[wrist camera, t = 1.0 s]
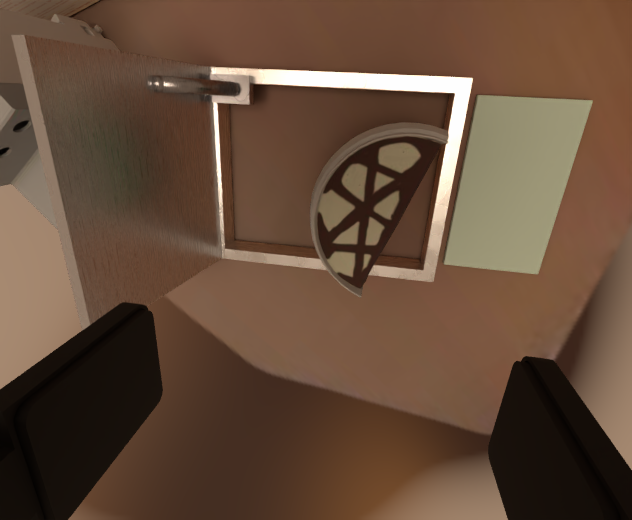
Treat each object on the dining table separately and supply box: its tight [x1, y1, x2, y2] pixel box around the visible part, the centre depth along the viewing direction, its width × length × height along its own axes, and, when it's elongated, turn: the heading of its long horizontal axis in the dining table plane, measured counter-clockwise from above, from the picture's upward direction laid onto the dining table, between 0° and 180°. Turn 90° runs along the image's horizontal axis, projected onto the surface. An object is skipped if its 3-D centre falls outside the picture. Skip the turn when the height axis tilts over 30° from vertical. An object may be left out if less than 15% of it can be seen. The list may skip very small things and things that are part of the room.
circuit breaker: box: [0, 8, 120, 230], centre depth 27 cm, size 8×14×15 cm, turn 39°
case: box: [11, 35, 473, 330], centre depth 25 cm, size 16×23×16 cm
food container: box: [310, 122, 449, 298], centre depth 28 cm, size 12×6×10 cm, turn 156°
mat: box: [443, 95, 593, 274], centre depth 30 cm, size 14×8×1 cm, turn 177°
